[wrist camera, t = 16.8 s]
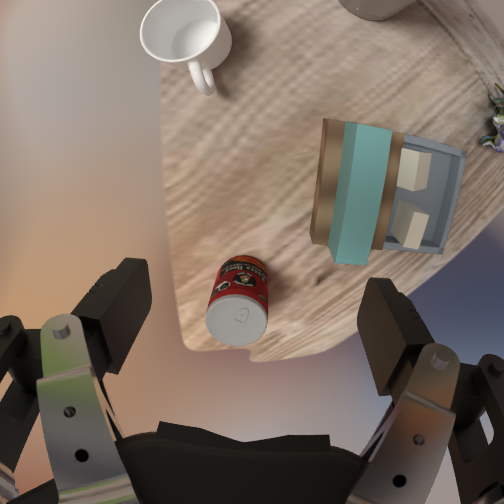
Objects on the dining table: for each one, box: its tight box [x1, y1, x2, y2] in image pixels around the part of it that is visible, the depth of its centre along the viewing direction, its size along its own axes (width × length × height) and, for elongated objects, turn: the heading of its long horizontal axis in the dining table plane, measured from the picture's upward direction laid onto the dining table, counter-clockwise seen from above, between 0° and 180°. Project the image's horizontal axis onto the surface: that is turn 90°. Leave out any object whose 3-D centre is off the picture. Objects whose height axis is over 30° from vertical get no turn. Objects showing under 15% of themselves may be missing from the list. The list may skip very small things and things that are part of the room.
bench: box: [310, 119, 405, 250], centre depth 36 cm, size 16×10×4 cm, turn 177°
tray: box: [383, 134, 467, 254], centre depth 37 cm, size 16×11×3 cm
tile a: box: [397, 148, 432, 191], centre depth 33 cm, size 5×5×2 cm
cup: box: [140, 0, 232, 96], centre depth 27 cm, size 8×12×10 cm
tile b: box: [391, 200, 429, 249], centre depth 37 cm, size 5×5×2 cm
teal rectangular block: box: [328, 122, 392, 265], centre depth 33 cm, size 16×4×5 cm, turn 176°
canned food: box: [205, 256, 268, 346], centre depth 41 cm, size 8×8×11 cm
